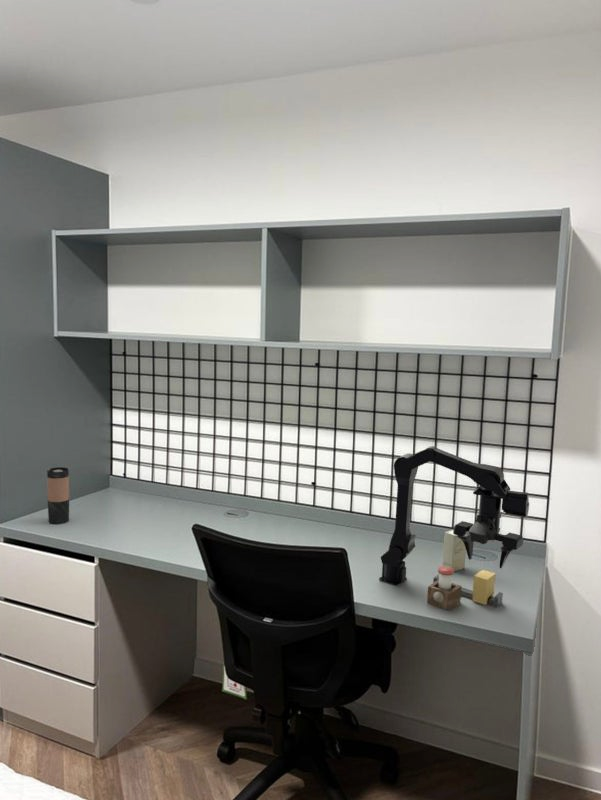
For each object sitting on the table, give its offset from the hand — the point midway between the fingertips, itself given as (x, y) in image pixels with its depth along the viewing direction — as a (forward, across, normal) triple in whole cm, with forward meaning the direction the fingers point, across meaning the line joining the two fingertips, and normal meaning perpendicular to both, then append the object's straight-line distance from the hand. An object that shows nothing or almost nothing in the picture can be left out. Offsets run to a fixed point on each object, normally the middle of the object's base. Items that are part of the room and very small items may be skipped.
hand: (485, 563), depth 185 cm
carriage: (+11, 0, 0) cm, 11 cm away
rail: (+11, -5, 0) cm, 12 cm away
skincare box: (+12, -17, +17) cm, 27 cm away
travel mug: (+12, -149, -44) cm, 156 cm away
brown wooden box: (+11, -8, -9) cm, 16 cm away
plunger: (+8, -8, -9) cm, 14 cm away
